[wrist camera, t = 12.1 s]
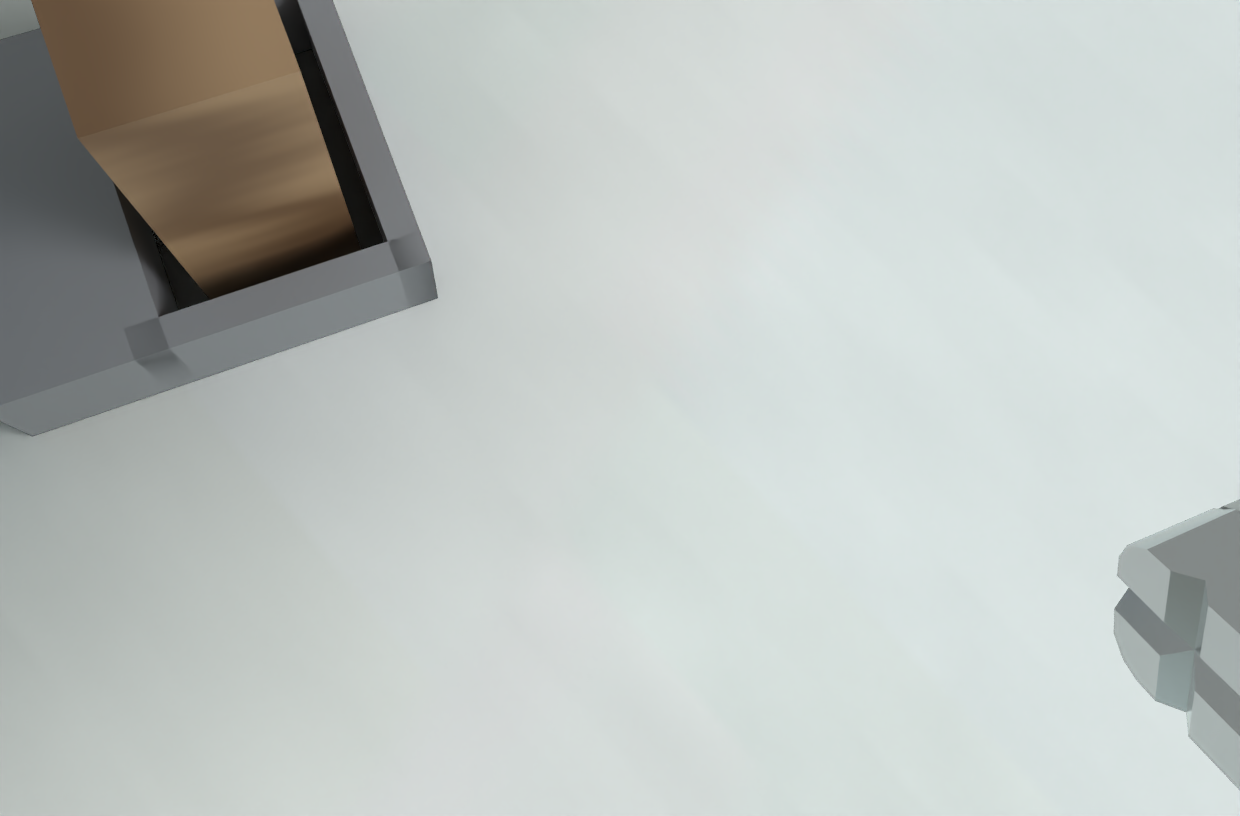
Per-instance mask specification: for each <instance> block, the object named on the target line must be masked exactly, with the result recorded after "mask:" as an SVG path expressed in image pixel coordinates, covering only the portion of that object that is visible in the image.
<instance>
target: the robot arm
mask: <svg viewBox="0 0 1240 816" xmlns="http://www.w3.org/2000/svg"><path fill="white" fill-rule="evenodd" d="M1117 576H1118V577H1119V578H1120V579H1121V580H1122V581H1123V582H1124V583H1125V584H1126V585H1127V586H1128V587H1129V588H1128V590H1127V591H1126V593H1125V594H1124V596H1123V597H1122V598H1121V600H1120V601H1119V603H1118V604H1117V606H1116V607H1115V609H1114V635H1115V638H1116V641H1117V644H1118V646H1119V649H1120V652H1121V655H1122V658H1123V660H1124V662H1125V663H1126V665H1127V666H1128V668H1129V669H1130V671H1131V673H1132V674H1133V676H1134V677H1135V679H1136V680H1137V681H1138V682H1139V684H1140V685H1141V686H1142V687H1143V688H1144V689H1145V690H1146V691H1147V692H1148V693H1149V695H1150V696H1151V697H1152V698H1153V699H1154V700H1155V701H1157V702H1160V703H1163V704H1166V705H1168V706H1171V707H1174V708H1176V709H1179V710H1182V711H1184V712H1186V716H1187V726H1188V736H1189V737H1190V739H1191V740H1192V741H1193V742H1194V743H1195V744H1196V745H1197V746H1198V747H1199V748H1200V749H1201V750H1202V751H1203V752H1204V753H1205V754H1206V755H1207V756H1208V757H1209V759H1210V760H1211V761H1212V762H1213V763H1214V764H1215V765H1216V766H1217V767H1218V768H1219V769H1220V770H1221V771H1222V772H1223V773H1224V774H1225V775H1226V776H1227V777H1228V779H1229V780H1230V781H1231V782H1232V783H1233V784H1234V785H1235V786H1236V787H1237V788H1238V789H1239V790H1240V499H1239V500H1237V501H1234V502H1232V503H1230V504H1227V505H1225V506H1223V507H1221V508H1219V509H1211V510H1209V511H1206V512H1204V513H1202V514H1199V515H1197V516H1195V517H1192V518H1190V519H1188V520H1185V521H1183V522H1181V523H1178V524H1176V525H1174V526H1171V527H1169V528H1167V529H1164V530H1162V531H1160V532H1157V533H1155V534H1153V535H1150V536H1148V537H1146V538H1143V539H1141V540H1139V541H1136V542H1134V543H1132V544H1129V545H1127V546H1126V548H1125V549H1124V550H1123V552H1122V553H1121V554H1120V556H1119V562H1118V572H1117Z"/></svg>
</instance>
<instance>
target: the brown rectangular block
mask: <svg viewBox="0 0 1240 816" xmlns="http://www.w3.org/2000/svg"><path fill="white" fill-rule="evenodd" d="M31 1H32V4H33V7H34V10H35V13H36V16H37V19H38V22H39V25H40V28H41V31H42V34H43V37H44V40H45V43H46V46H47V49H48V52H49V55H50V58H51V61H52V64H53V67H54V70H55V73H56V75H57V78H58V81H59V84H60V87H61V90H62V93H63V96H64V99H65V102H66V105H67V108H68V111H69V114H70V117H71V120H72V123H73V126H74V129H75V132H76V135H77V138H78V139H79V141H80V142H81V143H82V144H83V145H84V147H85V148H86V149H87V150H88V152H89V153H90V154H91V155H92V156H93V158H94V159H95V160H96V161H97V163H98V164H99V165H100V166H101V167H102V169H103V170H104V171H105V172H106V173H107V175H108V176H109V177H110V178H111V180H112V181H113V182H114V183H115V184H116V186H117V187H118V188H119V189H120V191H121V192H122V193H123V194H124V195H125V197H126V198H127V199H128V200H129V201H130V203H131V204H132V205H133V206H134V208H135V209H136V210H137V211H138V212H139V214H140V215H141V216H142V217H143V219H144V220H145V221H146V222H147V223H148V225H149V226H150V227H151V228H152V230H153V231H154V232H155V233H156V234H157V236H158V237H159V238H160V239H161V240H162V242H163V243H164V244H165V245H166V247H167V248H168V249H169V250H170V251H171V253H172V254H173V255H174V256H175V258H176V259H177V260H178V261H179V262H180V264H181V265H182V266H183V267H184V268H185V270H186V271H187V272H188V273H189V275H190V276H191V277H192V278H193V279H194V281H195V282H196V283H197V284H198V286H199V287H200V288H201V289H202V290H203V292H204V293H205V294H206V295H207V297H208V298H209V299H210V300H211V299H214V298H217V297H220V296H223V295H227V294H230V293H233V292H236V291H239V290H242V289H245V288H248V287H251V286H254V285H257V284H260V283H263V282H266V281H269V280H272V279H275V278H278V277H281V276H284V275H287V274H290V273H293V272H296V271H299V270H302V269H305V268H308V267H311V266H314V265H317V264H320V263H323V262H326V261H329V260H333V259H336V258H339V257H342V256H345V255H348V254H351V253H354V252H357V251H360V250H362V249H361V247H360V244H359V241H358V238H357V235H356V232H355V229H354V226H353V223H352V220H351V217H350V214H349V211H348V209H347V206H346V203H345V200H344V197H343V194H342V191H341V188H340V185H339V182H338V179H337V176H336V173H335V171H334V168H333V165H332V162H331V159H330V156H329V153H328V150H327V147H326V144H325V141H324V138H323V135H322V133H321V130H320V127H319V124H318V121H317V118H316V115H315V112H314V109H313V106H312V103H311V100H310V97H309V95H308V92H307V89H306V86H305V83H304V80H303V77H302V74H301V71H300V68H299V66H298V63H297V60H296V58H295V55H294V52H293V50H292V47H291V44H290V42H289V39H288V36H287V34H286V31H285V28H284V26H283V23H282V20H281V18H280V15H279V12H278V10H277V7H276V4H275V2H274V0H31Z"/></svg>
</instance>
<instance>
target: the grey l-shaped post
mask: <svg viewBox="0 0 1240 816" xmlns="http://www.w3.org/2000/svg"><path fill="white" fill-rule="evenodd" d="M274 2H275V4H276V7H277V10H278V12H279V15H280V18H281V20H282V23H283V26H284V28H285V31H286V34H287V36H288V39H289V42H290V44H291V47H292V50H293V52H294V54H296V53H299V52H303V51H306V50H309V49H312V50H313V53H314V55H315V58H316V61H317V64H318V66H319V69H320V72H321V74H322V77H323V80H324V82H325V85H326V88H327V90H328V93H329V96H330V98H331V101H332V104H333V106H334V109H335V112H336V114H337V117H338V120H339V122H340V125H341V128H342V131H343V133H344V136H345V139H346V141H347V144H348V147H349V149H350V152H351V155H352V157H353V160H354V163H355V165H356V168H357V171H358V173H359V176H360V179H361V181H362V184H363V187H364V190H365V192H366V195H367V198H368V200H369V203H370V206H371V208H372V211H373V214H374V216H375V219H376V222H377V224H378V227H379V230H380V232H381V235H382V238H383V240H384V243H381V244H378V245H375V246H372V247H369V248H366V249H363V250H360V251H357V252H354V253H351V254H348V255H345V256H342V257H339V258H336V259H333V260H329V261H326V262H323V263H320V264H317V265H314V266H311V267H308V268H305V269H302V270H299V271H296V272H293V273H290V274H287V275H284V276H281V277H278V278H275V279H272V280H269V281H266V282H263V283H260V284H257V285H254V286H251V287H248V288H245V289H242V290H239V291H236V292H233V293H230V294H227V295H223V296H220V297H217V298H214V299H211V300H208V301H205V302H202V303H199V304H196V305H193V306H190V307H187V308H184V309H181V310H178V307H177V304H176V301H175V298H174V295H173V293H172V290H171V287H170V284H169V281H168V278H167V275H166V272H165V269H164V266H163V263H162V260H161V257H160V254H159V251H158V248H157V245H156V242H155V239H154V236H153V234H152V231H151V228H150V226H149V225H148V223H147V222H146V221H145V220H144V219H143V217H142V216H141V215H140V214H139V212H138V211H137V210H136V209H135V208H134V206H133V205H132V204H131V203H130V201H129V200H128V199H127V198H126V197H125V195H124V194H123V193H122V192H121V191H120V189H119V188H118V187H117V186H116V184H115V183H114V182H113V181H112V180H111V178H110V177H109V176H108V175H107V173H106V172H105V171H104V170H103V169H102V167H101V166H100V165H99V164H98V163H97V161H96V160H95V159H94V158H93V156H92V155H91V154H90V153H89V152H88V150H87V149H86V148H85V147H84V145H83V144H82V143H81V142H80V141H79V139H78V138H77V135H76V132H75V129H74V126H73V123H72V120H71V117H70V114H69V111H68V108H67V105H66V102H65V99H64V96H63V93H62V90H61V87H60V84H59V81H58V78H57V75H56V73H55V70H54V67H53V64H52V61H51V58H50V55H49V52H48V49H47V46H46V43H45V40H44V37H43V34H42V31H41V28H40V29H36V30H33V31H29V32H26V33H22V34H19V35H15V36H12V37H8V38H5V39H1V40H0V421H1V422H3V423H5V424H7V425H9V426H12V427H14V428H16V429H18V430H20V431H22V432H25V433H27V434H29V435H31V436H35V435H38V434H41V433H44V432H47V431H50V430H53V429H56V428H58V427H61V426H64V425H67V424H70V423H73V422H76V421H79V420H82V419H85V418H88V417H91V416H94V415H97V414H99V413H102V412H105V411H108V410H111V409H114V408H117V407H120V406H123V405H126V404H129V403H132V402H135V401H138V400H141V399H143V398H146V397H149V396H152V395H155V394H158V393H161V392H164V391H167V390H170V389H173V388H176V387H179V386H182V385H184V384H187V383H190V382H193V381H196V380H199V379H202V378H205V377H208V376H211V375H214V374H217V373H220V372H223V371H225V370H228V369H231V368H234V367H237V366H240V365H243V364H246V363H249V362H252V361H255V360H258V359H261V358H264V357H267V356H269V355H272V354H275V353H278V352H281V351H284V350H287V349H290V348H293V347H296V346H299V345H302V344H305V343H308V342H310V341H313V340H316V339H319V338H322V337H325V336H328V335H331V334H334V333H337V332H340V331H343V330H346V329H349V328H352V327H354V326H357V325H360V324H363V323H366V322H369V321H372V320H375V319H378V318H381V317H384V316H387V315H390V314H393V313H395V312H398V311H401V310H404V309H407V308H410V307H413V306H416V305H419V304H422V303H425V302H428V301H431V300H434V299H437V298H438V297H437V291H436V285H435V279H434V274H433V268H432V262H431V259H430V256H429V254H428V251H427V248H426V246H425V243H424V240H423V238H422V235H421V232H420V230H419V227H418V225H417V222H416V219H415V217H414V214H413V211H412V209H411V206H410V203H409V201H408V198H407V195H406V193H405V190H404V188H403V185H402V182H401V180H400V177H399V174H398V172H397V169H396V166H395V164H394V161H393V159H392V156H391V153H390V151H389V148H388V145H387V143H386V140H385V137H384V135H383V132H382V130H381V127H380V124H379V122H378V119H377V116H376V114H375V111H374V108H373V106H372V103H371V100H370V98H369V95H368V93H367V90H366V87H365V85H364V82H363V79H362V77H361V74H360V71H359V69H358V66H357V64H356V61H355V58H354V56H353V53H352V50H351V48H350V45H349V42H348V40H347V37H346V35H345V32H344V29H343V27H342V24H341V21H340V19H339V16H338V13H337V11H336V8H335V5H334V3H333V0H274Z"/></svg>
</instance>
